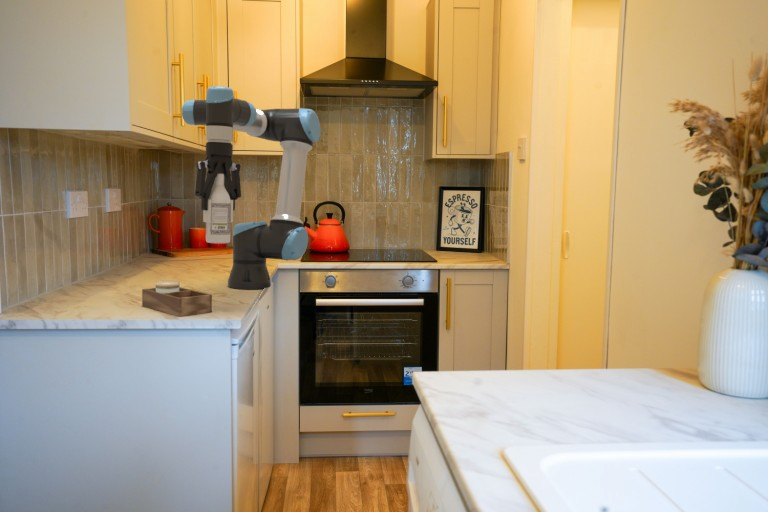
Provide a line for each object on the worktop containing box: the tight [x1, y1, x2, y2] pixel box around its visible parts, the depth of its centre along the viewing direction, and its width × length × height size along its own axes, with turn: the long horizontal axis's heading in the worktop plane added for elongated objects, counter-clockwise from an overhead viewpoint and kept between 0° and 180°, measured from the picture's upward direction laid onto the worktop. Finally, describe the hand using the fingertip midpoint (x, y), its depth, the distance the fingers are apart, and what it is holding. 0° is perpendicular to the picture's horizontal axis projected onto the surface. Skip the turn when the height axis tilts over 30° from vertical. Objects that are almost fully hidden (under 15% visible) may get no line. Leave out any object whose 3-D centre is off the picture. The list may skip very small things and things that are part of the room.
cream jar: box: [154, 280, 181, 293], centre depth 194 cm, size 7×7×6 cm
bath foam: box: [205, 174, 232, 244], centre depth 192 cm, size 7×7×20 cm
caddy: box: [141, 287, 213, 317], centre depth 191 cm, size 10×20×5 cm, turn 48°
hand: (218, 221), depth 192 cm, fingers closed on bath foam, 7 cm apart
